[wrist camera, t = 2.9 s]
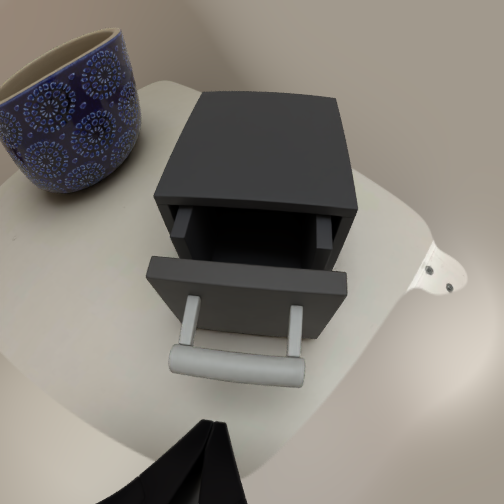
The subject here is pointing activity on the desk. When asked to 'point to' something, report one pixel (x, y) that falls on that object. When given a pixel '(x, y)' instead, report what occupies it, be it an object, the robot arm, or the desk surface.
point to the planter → (72, 112)
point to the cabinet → (263, 159)
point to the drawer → (248, 288)
